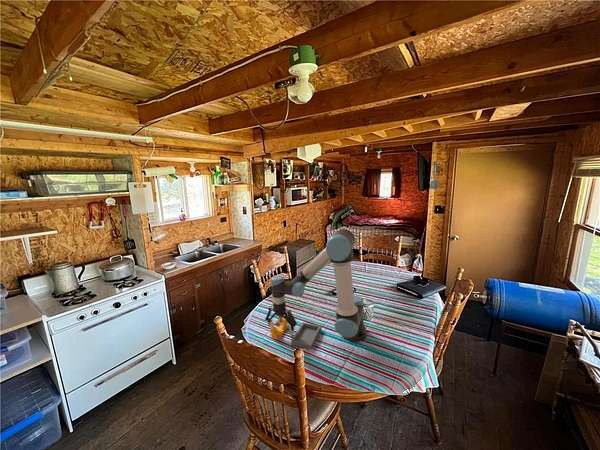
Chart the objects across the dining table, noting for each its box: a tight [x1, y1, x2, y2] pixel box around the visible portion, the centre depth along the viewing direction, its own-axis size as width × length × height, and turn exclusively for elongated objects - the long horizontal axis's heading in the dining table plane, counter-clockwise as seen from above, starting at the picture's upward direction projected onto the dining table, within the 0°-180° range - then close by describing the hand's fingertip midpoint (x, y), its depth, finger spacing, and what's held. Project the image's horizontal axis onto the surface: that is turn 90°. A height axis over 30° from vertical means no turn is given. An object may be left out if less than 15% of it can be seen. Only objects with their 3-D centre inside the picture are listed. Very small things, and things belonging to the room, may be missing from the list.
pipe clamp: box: [269, 318, 288, 340], centre depth 149 cm, size 12×4×6 cm, turn 142°
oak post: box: [275, 316, 283, 326], centre depth 159 cm, size 6×6×8 cm
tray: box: [290, 321, 322, 351], centre depth 144 cm, size 12×18×3 cm, turn 157°
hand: (281, 332), depth 149 cm, fingers open, 13 cm apart
